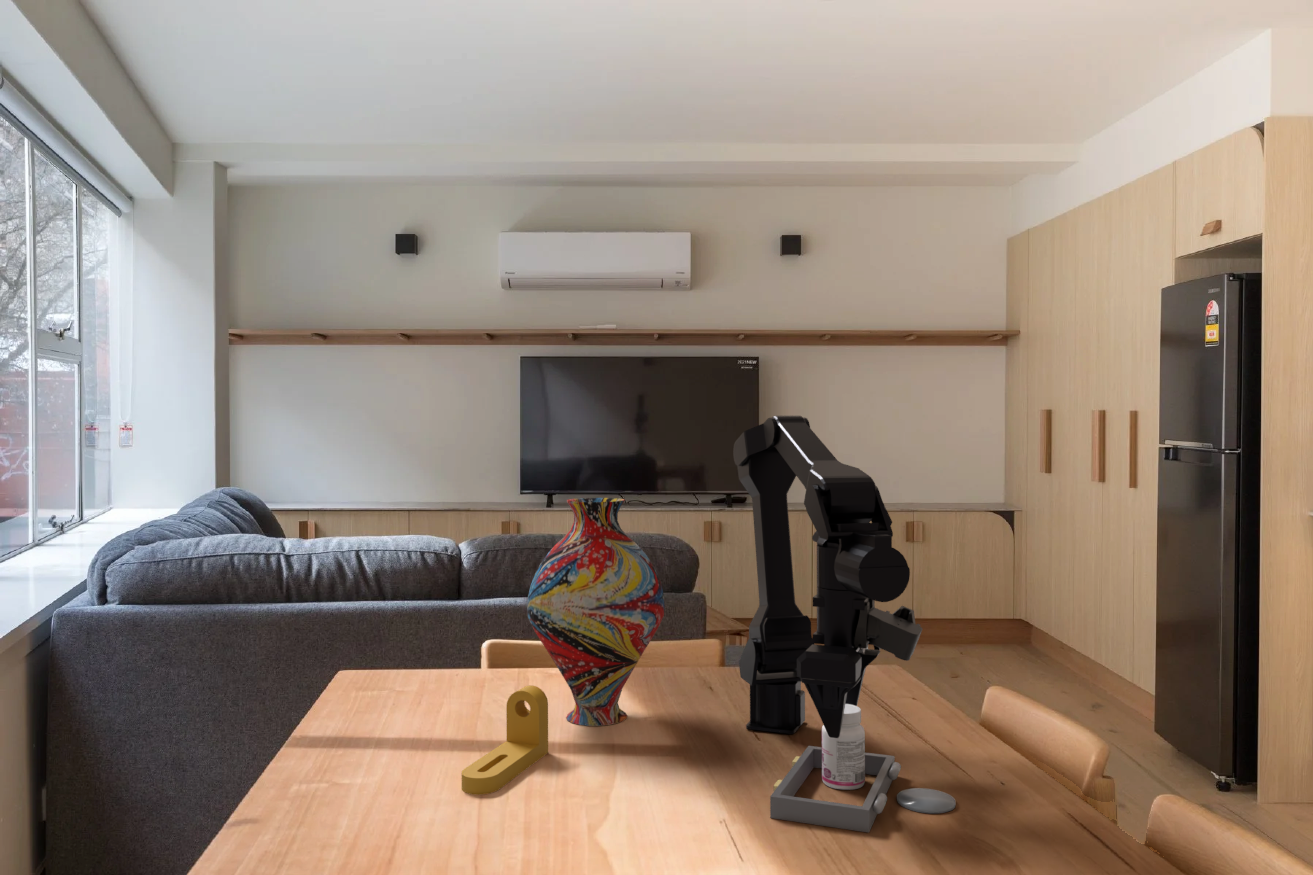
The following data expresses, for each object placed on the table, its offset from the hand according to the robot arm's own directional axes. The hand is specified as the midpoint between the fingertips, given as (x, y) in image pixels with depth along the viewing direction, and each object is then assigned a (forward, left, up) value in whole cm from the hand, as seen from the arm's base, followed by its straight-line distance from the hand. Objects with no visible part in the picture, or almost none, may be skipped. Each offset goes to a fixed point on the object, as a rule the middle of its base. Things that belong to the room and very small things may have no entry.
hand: (842, 725), depth 110 cm
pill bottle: (0, 0, -7) cm, 7 cm away
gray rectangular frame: (0, -4, -6) cm, 8 cm away
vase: (-36, +12, -7) cm, 39 cm away
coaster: (+9, -3, -7) cm, 12 cm away
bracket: (-37, -11, -7) cm, 40 cm away
